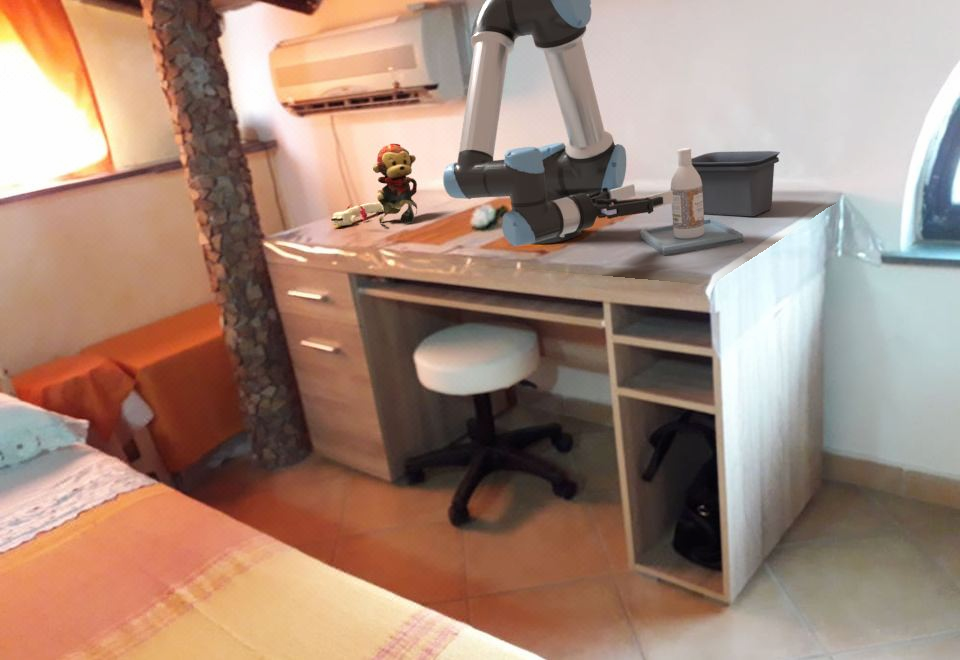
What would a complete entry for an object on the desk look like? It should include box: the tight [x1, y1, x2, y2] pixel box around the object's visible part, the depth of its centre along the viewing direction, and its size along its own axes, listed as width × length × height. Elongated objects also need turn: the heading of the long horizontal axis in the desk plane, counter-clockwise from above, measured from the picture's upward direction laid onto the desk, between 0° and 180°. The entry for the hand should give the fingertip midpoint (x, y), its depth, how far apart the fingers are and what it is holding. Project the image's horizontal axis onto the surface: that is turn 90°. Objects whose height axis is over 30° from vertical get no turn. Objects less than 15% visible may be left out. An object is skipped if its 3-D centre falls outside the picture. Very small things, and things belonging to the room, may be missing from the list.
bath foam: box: [670, 147, 705, 239], centre depth 178 cm, size 7×7×20 cm
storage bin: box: [691, 150, 781, 217], centre depth 198 cm, size 21×16×14 cm
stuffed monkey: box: [372, 143, 418, 224], centre depth 250 cm, size 15×17×25 cm
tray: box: [640, 217, 744, 256], centre depth 182 cm, size 18×18×2 cm
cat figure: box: [330, 189, 384, 228], centre depth 263 cm, size 10×9×25 cm
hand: (652, 193), depth 174 cm, fingers open, 13 cm apart
